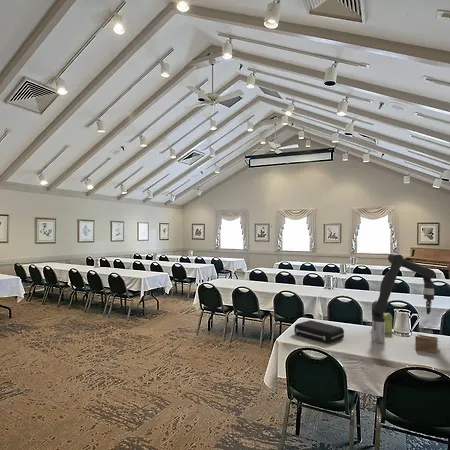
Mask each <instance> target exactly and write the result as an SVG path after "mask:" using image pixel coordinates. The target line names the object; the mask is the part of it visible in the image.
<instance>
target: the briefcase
mask: <svg viewBox="0 0 450 450" xmlns="http://www.w3.org/2000/svg"><path fill="white" fill-rule="evenodd" d="M293 331H294V334H295V335H296V336H298V337H299V336H300V337H303V338H305V339H309V340H313V341H317V342H320V343H323V344H327V345H328V344H332V343H335V342H337V341H340V340H343V339H344V337H345V330H344V328H343V327H341V326H336V325H332V324H330V323H329V324H328V323H324V322H319V321H315V320H311V319H310V320H306V321H302V322H299V323H296V324H295V325H294V329H293Z"/></svg>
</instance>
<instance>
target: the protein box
mask: <svg viewBox="0 0 450 450" xmlns="http://www.w3.org/2000/svg"><path fill="white" fill-rule="evenodd" d="M383 314H384V318H385V334H386V333H387V334H390V333H391V332H392V333H393V315H392V314H391V313H390V312H384V313H383ZM372 329H373V318H372V317H371V330H372Z"/></svg>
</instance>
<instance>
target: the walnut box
mask: <svg viewBox="0 0 450 450" xmlns="http://www.w3.org/2000/svg"><path fill="white" fill-rule="evenodd" d="M438 339H439V337H437V336H435V337H431V336H425V335H423V334H417V335H415V339H414V341H415V342H414V343H415V348H414V349H415V350H416V351H420V352H426V353H430V354H431V353H432V354H437V352H438V349H439V344H438V341H439V340H438Z"/></svg>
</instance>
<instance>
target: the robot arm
mask: <svg viewBox="0 0 450 450" xmlns="http://www.w3.org/2000/svg"><path fill="white" fill-rule="evenodd" d="M387 260H388V263H390V264H391V265H390V268H389V269H388V271H387V272H386V273H385V274H384V276H383V278H382V279H381V283H380V287H379V295H378V296H379V297H378V299H377V300H375V301H373V302H372V304H371V319H372V318H373V329H372V328H371V338H370V339H371V341H372V342H374V343H376V344H384V343H385V339H386V338H385V335H386V332H385V318H384V314H383V313H386V310H387V307H388V302H389V299H390V296H391V293H392V290H393V287H394V285H395V282H396V280H397V277H398V273H399V271H400V269H401V267H403V268H405V269H407V270H409V271H412V272H413V273H416V274H419V275H422V280H423V300H426V301H425V309H426V314H427V315H430V314H431V308H432V301H433V300H435V288H434V285H435V284H434V281H433V280H432V279H435V278H436V277H437V275H436V271H435V270H433V269H432V268H429V267H428V268H427V267H425V266H423V265H420V264H418V263H415V262H413V261H410V260H407V259H406V258H404V257H403V255H402V254H399V253H396V252H393V253H390V254H389V255H388V257H387Z"/></svg>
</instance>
